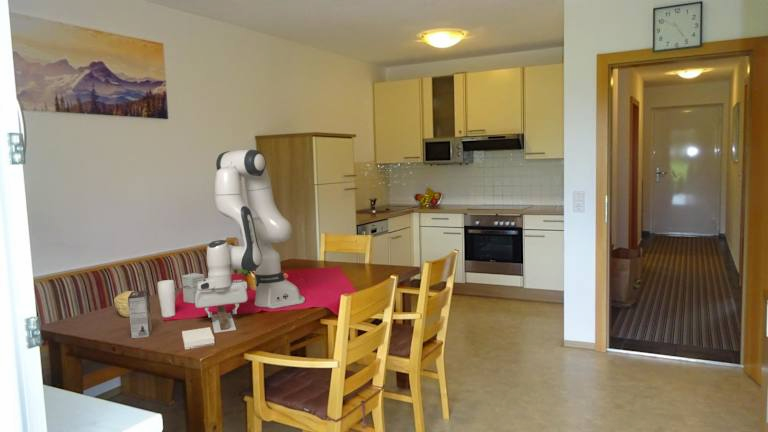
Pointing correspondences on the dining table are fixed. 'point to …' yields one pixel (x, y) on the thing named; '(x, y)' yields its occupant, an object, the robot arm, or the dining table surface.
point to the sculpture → (123, 303)
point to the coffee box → (140, 314)
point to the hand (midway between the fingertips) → (222, 315)
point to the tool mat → (217, 325)
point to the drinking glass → (167, 297)
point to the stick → (222, 317)
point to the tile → (197, 338)
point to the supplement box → (190, 286)
